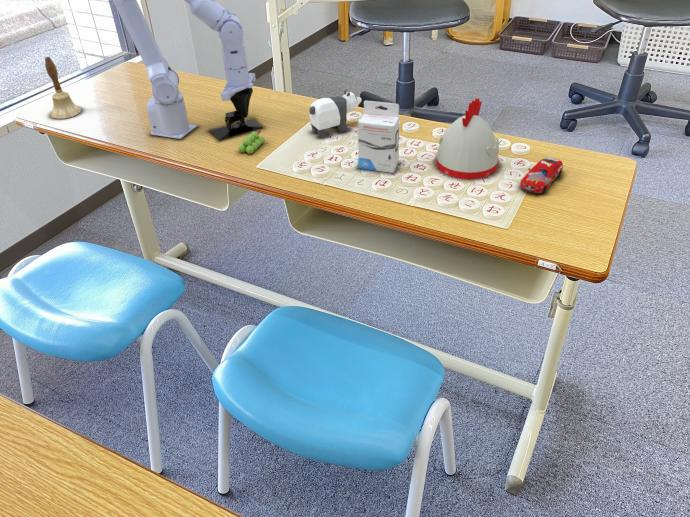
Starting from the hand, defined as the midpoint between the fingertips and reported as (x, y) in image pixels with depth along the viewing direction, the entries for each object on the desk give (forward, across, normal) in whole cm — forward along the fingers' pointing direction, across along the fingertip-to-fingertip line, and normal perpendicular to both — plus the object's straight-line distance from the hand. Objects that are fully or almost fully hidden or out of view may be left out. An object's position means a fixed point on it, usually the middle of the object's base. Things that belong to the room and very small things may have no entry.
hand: (243, 116), depth 157 cm
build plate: (+2, -4, 0) cm, 5 cm away
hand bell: (+2, -9, +53) cm, 54 cm away
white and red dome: (+2, -5, -61) cm, 61 cm away
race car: (+2, -8, -78) cm, 78 cm away
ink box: (+2, -12, -42) cm, 44 cm away
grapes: (+2, -12, -9) cm, 15 cm away
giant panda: (+2, +3, -25) cm, 25 cm away
